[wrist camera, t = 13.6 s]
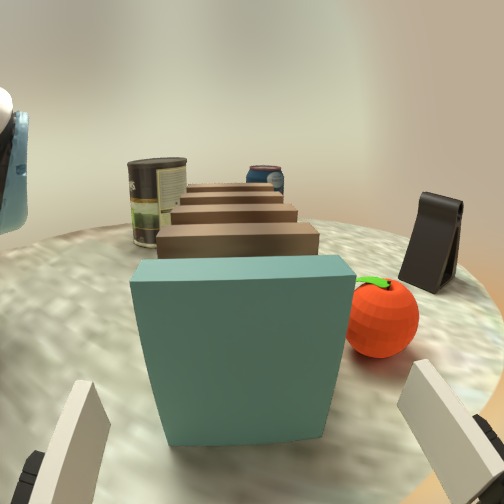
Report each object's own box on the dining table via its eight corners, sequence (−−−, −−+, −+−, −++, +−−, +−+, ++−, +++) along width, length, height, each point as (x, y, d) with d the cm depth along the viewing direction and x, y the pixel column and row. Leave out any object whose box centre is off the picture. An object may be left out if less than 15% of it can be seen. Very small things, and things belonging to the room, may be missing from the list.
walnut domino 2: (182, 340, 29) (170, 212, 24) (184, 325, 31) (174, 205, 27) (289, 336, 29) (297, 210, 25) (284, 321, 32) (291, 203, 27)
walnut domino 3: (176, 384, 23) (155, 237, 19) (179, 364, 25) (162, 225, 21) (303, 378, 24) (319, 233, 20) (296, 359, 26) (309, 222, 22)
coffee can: (131, 250, 50) (123, 164, 45) (135, 232, 59) (130, 160, 54) (192, 245, 53) (188, 160, 48) (187, 228, 62) (184, 156, 57)
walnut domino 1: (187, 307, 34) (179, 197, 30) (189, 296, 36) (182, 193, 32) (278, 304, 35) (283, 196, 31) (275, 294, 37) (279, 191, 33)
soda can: (287, 233, 59) (289, 168, 55) (251, 236, 57) (251, 169, 53) (275, 223, 65) (276, 164, 61) (242, 225, 64) (242, 165, 59)
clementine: (312, 351, 27) (321, 280, 25) (346, 318, 32) (356, 255, 30) (394, 384, 22) (418, 310, 20) (415, 343, 27) (434, 277, 25)
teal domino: (168, 445, 17) (129, 281, 13) (171, 418, 20) (141, 259, 15) (321, 437, 18) (356, 274, 14) (313, 411, 20) (338, 254, 16)
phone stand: (433, 294, 36) (451, 203, 32) (397, 279, 41) (410, 193, 37) (455, 276, 41) (470, 199, 37) (423, 264, 46) (435, 190, 42)
